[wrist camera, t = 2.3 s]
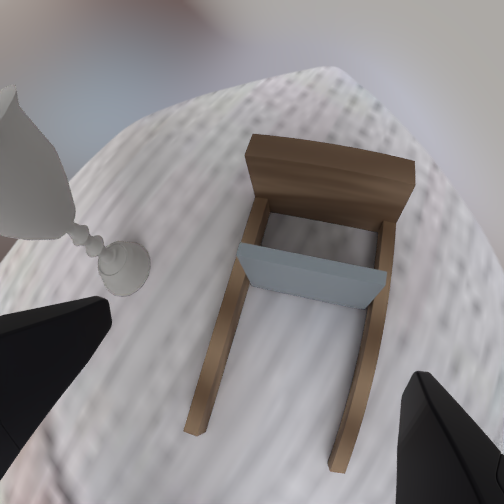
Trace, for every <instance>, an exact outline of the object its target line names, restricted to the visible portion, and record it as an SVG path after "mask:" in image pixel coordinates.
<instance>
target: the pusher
mask: <svg viewBox="0 0 504 504" xmlns="http://www.w3.org/2000/svg"><path fill="white" fill-rule="evenodd" d="M236 256H237V258H238V260H239V262H240V264H241V266H242V267H243V269H244V271H245V273H246V275H247V277H248V279H249V281H250V283H251V285H252V286H254V287H259V288H263V289H268V290H272V291H277V292H281V293H286V294H290V295H295V296H300V297H304V298H309V299H314V300H318V301H323V302H328V303H333V304H338V305H343V306H347V307H352V308H357V309H362V310H364V309H365V308H366V307H367V306H368V305H369V304H370V303H371V302H372V300H373V299H374V298H375V297H376V296H377V295H378V294H379V292H380V291H381V290H382V289H383V288H384V287H385V285H386V277H387V272H386V271H381V270H376V269H371V268H366V267H362V266H357V265H352V264H347V263H342V262H337V261H332V260H327V259H322V258H317V257H312V256H307V255H302V254H297V253H292V252H287V251H282V250H277V249H272V248H267V247H262V246H257V245H252V244H247V243H242V242H240V244H239V247H238V250H237V254H236Z"/></svg>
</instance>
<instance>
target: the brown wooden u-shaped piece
mask: <svg viewBox="0 0 504 504" xmlns="http://www.w3.org/2000/svg"><path fill="white" fill-rule="evenodd" d="M245 159H246V163H247V167H248V171H249V174H250V178H251V182H252V186H253V190H254V194H255V200H254V203H253V206H252V209H251V212H250V215H249V218H248V221H247V225H246V228H245V231H244V234H243V237H242V240H241V242H242V243H247V244H252V245H257V246H261V243H262V239H263V236H264V232H265V229H266V225H267V222H268V218H269V215H270V212H274V213H279V214H285V215H291V216H296V217H302V218H307V219H312V220H318V221H323V222H328V223H333V224H339V225H344V226H349V227H354V228H359V229H363V230H368V231H373V232H378V238H377V247H376V256H375V264H374V269H376V270H381V271H386V272H387V277H386V285H385V287H384V288H383V289H382V290H381V291H380V292H379V294H378V295H377V296H376V297H375V298H374V299H373V300H372V302H371V303H370V304H369V305H368V309H367V315H366V320H365V325H364V331H363V336H362V340H361V345H360V350H359V354H358V359H357V363H356V368H355V372H354V376H353V380H352V384H351V388H350V392H349V395H348V399H347V403H346V406H345V410H344V413H343V417H342V420H341V424H340V427H339V430H338V433H337V437H336V440H335V443H334V446H333V449H332V452H331V455H330V458H329V461H328V466H329V470H330V471H331V472H337V473H344V474H345V472H346V469H347V466H348V463H349V460H350V457H351V455H352V452H353V449H354V445H355V442H356V439H357V436H358V433H359V430H360V426H361V423H362V419H363V416H364V412H365V409H366V405H367V401H368V398H369V394H370V390H371V386H372V382H373V377H374V373H375V369H376V364H377V360H378V355H379V350H380V345H381V340H382V334H383V329H384V323H385V317H386V311H387V304H388V297H389V290H390V282H391V274H392V265H393V255H394V244H395V231H396V222H397V221H398V219H399V217H400V215H401V213H402V211H403V209H404V207H405V205H406V203H407V201H408V199H409V197H410V195H411V193H412V191H413V189H414V187H415V161H412V160H408V159H404V158H400V157H396V156H391V155H387V154H382V153H378V152H373V151H368V150H363V149H358V148H352V147H347V146H341V145H335V144H329V143H323V142H317V141H310V140H303V139H295V138H287V137H279V136H270V135H260V134H253V135H252V137H251V140H250V142H249V145H248V147H247V150H246V153H245ZM249 284H250V281H249V279H248V277H247V275H246V273H245V271H244V269H243V267H242V266H241V264H240V262H239V260H238V258H237V256H236V259H235V262H234V266H233V269H232V272H231V275H230V278H229V282H228V285H227V288H226V291H225V294H224V298H223V301H222V304H221V307H220V311H219V314H218V317H217V320H216V324H215V327H214V330H213V333H212V337H211V340H210V343H209V347H208V350H207V353H206V357H205V360H204V363H203V366H202V370H201V373H200V376H199V380H198V383H197V387H196V390H195V393H194V397H193V400H192V403H191V407H190V410H189V414H188V417H187V420H186V424H185V427H184V432H187V433H189V434H192V435H195V436H199V435H201V434H202V433H204V432H206V429H207V426H208V422H209V419H210V416H211V412H212V409H213V406H214V402H215V399H216V396H217V392H218V389H219V386H220V382H221V379H222V376H223V372H224V369H225V365H226V362H227V359H228V355H229V352H230V349H231V345H232V342H233V338H234V335H235V332H236V328H237V325H238V321H239V318H240V315H241V311H242V308H243V304H244V301H245V298H246V294H247V291H248V287H249Z"/></svg>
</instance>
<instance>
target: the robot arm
mask: <svg viewBox="0 0 504 504" xmlns="http://www.w3.org/2000/svg"><path fill="white" fill-rule="evenodd" d="M111 326H112V318H111V312H110V306H109V302H108V300H107V299H105V298H102V297H99V296H93V297H88V298H84V299H79V300H74V301H69V302H64V303H60V304H55V305H50V306H45V307H40V308H35V309H31V310H26V311H21V312H16V313H11V314H6V315H2V316H0V480H1V479H2V477H3V476H4V474H5V473H6V471H7V470H8V469H9V467H10V466H11V464H12V463H13V461H14V460H15V458H16V457H17V456H18V454H19V453H20V451H21V449H22V448H23V447H24V445H25V444H26V442H27V441H28V440H29V438H30V437H31V436H32V434H33V433H34V431H35V430H36V429H37V427H38V426H39V425H40V423H41V422H42V421H43V419H44V418H45V417H46V415H47V414H48V413H49V411H50V410H51V409H52V407H53V406H54V405H55V404H56V402H57V401H58V400H59V398H60V397H61V396H62V394H63V393H64V392H65V391H66V389H67V388H68V387H69V386H70V384H71V383H72V382H73V380H74V379H75V378H76V377H77V375H78V374H79V373H80V372H81V370H82V369H83V368H84V367H85V365H86V364H87V363H88V361H89V360H90V358H91V357H92V355H93V354H94V352H95V351H96V349H97V348H98V346H99V345H100V343H101V342H102V340H103V339H104V337H105V336H106V334H107V333H108V331H109V330H110V328H111ZM396 504H504V455H503V454H501V452H500V450H499V449H498V448H497V447H496V446H495V444H494V443H493V442H492V441H491V440H490V439H489V438H488V436H487V435H486V434H485V433H484V432H483V431H482V429H481V428H480V427H479V426H478V425H477V424H476V423H475V422H474V420H473V419H472V418H471V417H470V416H469V415H468V414H467V413H466V412H465V410H464V409H463V408H462V407H461V406H460V405H459V404H458V403H457V402H456V400H455V399H454V398H453V397H452V396H451V395H450V394H449V393H448V392H447V391H446V390H445V389H444V387H443V386H442V385H441V384H440V383H439V382H438V381H437V380H436V379H435V378H434V377H433V376H432V375H431V374H430V373H429V372H423V371H416V372H414V373H413V375H412V377H411V379H410V381H409V383H408V385H407V387H406V388H405V390H404V392H403V395H402V399H401V411H400V424H399V435H398V446H397V486H396Z"/></svg>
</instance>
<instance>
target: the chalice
mask: <svg viewBox="0 0 504 504" xmlns="http://www.w3.org/2000/svg"><path fill="white" fill-rule="evenodd" d="M75 213H76V210H75V204H74V201H73V197H72V194H71V190H70V186H69V183H68V179H67V176H66V174H65V171H64V169H63V166H62V164H61V162H60V159H59V156H58V153H57V152H56V150H55V148H54V146H53V145H52V144H51V143H50V142H49V140H48V139H47V138H46V137H45V136H44V135H43V134H42V132H41V131H40V130H39V129H38V128H37V127H36V125H35V124H34V123H33V122H32V121H31V119H30V118H29V117H28V116H27V115H26V113H25V112H24V111H23V110H22V109H21V108H20V106H19V103H18V97H17V91H16V86H15V85H10V86H8V87H6V88H4V89H2V90H0V235H1V236H6V237H12V238H18V239H24V240H55V239H59V238H61V237H62V236H64V235H65V234H66V233H68V234H69V235H70V237H71V238H72V240H73V243H74V245H75V246H81V245H82V246H85V247H86V253H87V255H88V256H89V257H96V256H98V257H99V259H98V271H99V275H100V276H101V278H102V280H103V282H104V285H105V286H106V288H107V289H108V291H109V292H111V293H112V294H113V295H116V296H121V297H123V296H129V295H131V294H133V293H135V292H136V291H138V290H139V289H140V288H141V287H142V286H143V284H144V283H145V281H146V279H147V277H148V274H149V270H150V258H149V255H148V252H147V251H146V249H145V248H144V247H143V246H142V245H140V244H138V243H133V242H124V241H116V242H113V243H111V244H110V245H108V246H106V247H105V246H104V241H103V238H102V237H101V236H99V235H96V236H94V237H93V236H91V235H90V234H89V229H88V227H87V226H86V225H78V224H76V223H74V218H75Z"/></svg>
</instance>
